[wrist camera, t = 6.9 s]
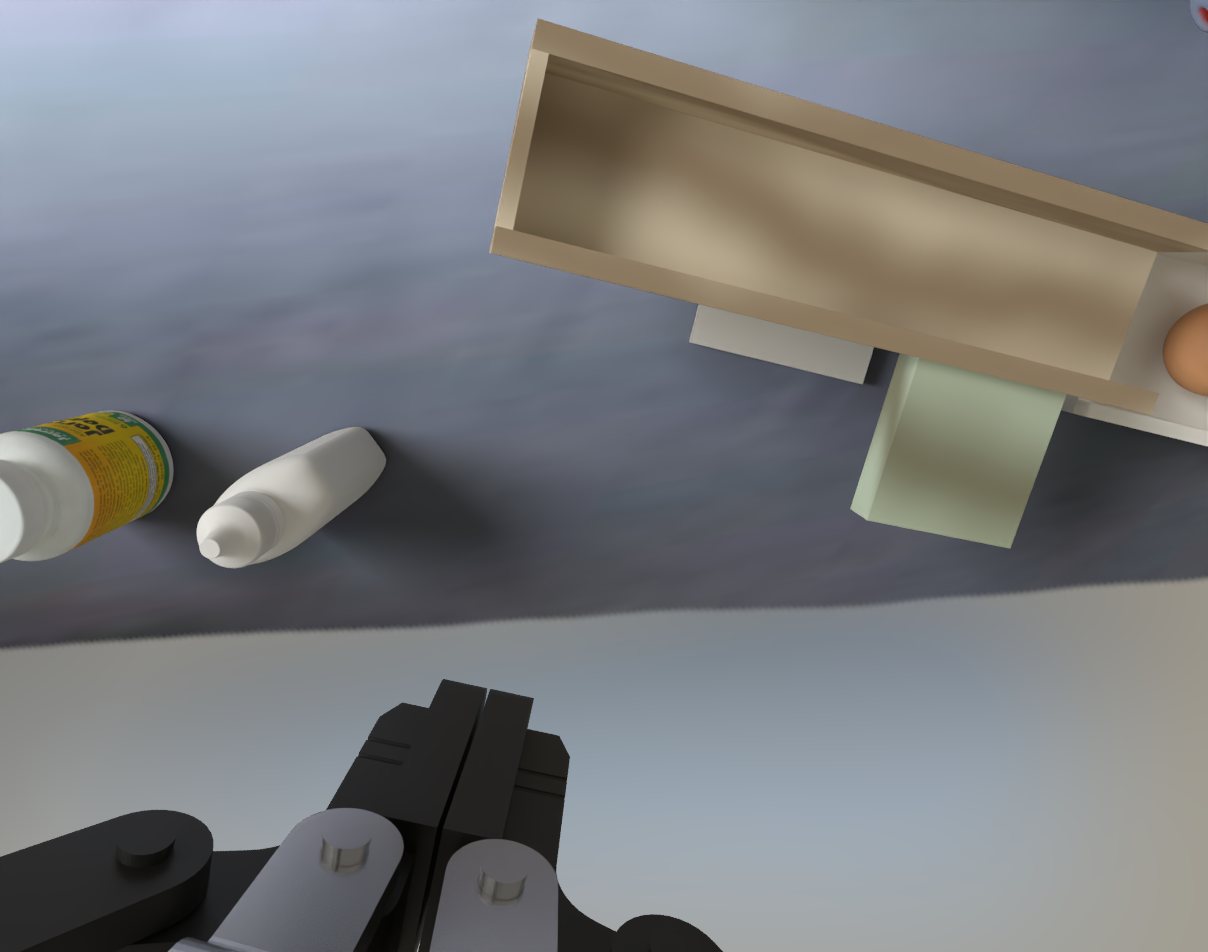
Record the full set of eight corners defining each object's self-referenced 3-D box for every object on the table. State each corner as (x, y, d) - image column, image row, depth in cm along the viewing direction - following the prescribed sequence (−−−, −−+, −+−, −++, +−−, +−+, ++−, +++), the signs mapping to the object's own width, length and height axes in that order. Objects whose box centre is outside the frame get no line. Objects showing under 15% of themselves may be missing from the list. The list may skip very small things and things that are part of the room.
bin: (1095, 225, 36) (1144, 218, 33) (1334, 285, 36) (1407, 284, 33) (1032, 402, 38) (1072, 413, 35) (1260, 458, 38) (1322, 474, 35)
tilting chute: (526, 61, 29) (538, 18, 23) (1106, 232, 33) (1223, 228, 28) (456, 411, 31) (452, 443, 26) (1001, 522, 36) (1090, 568, 31)
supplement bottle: (85, 522, 41) (-78, 592, 31) (55, 415, 39) (-124, 455, 30) (190, 510, 40) (57, 576, 31) (163, 401, 39) (17, 436, 30)
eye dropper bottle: (268, 432, 39) (115, 492, 28) (384, 423, 39) (280, 480, 27) (283, 520, 40) (142, 614, 29) (396, 512, 40) (301, 604, 28)
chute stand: (747, 113, 36) (773, 75, 29) (927, 157, 36) (990, 130, 30) (688, 341, 38) (700, 351, 32) (857, 382, 38) (902, 400, 32)
